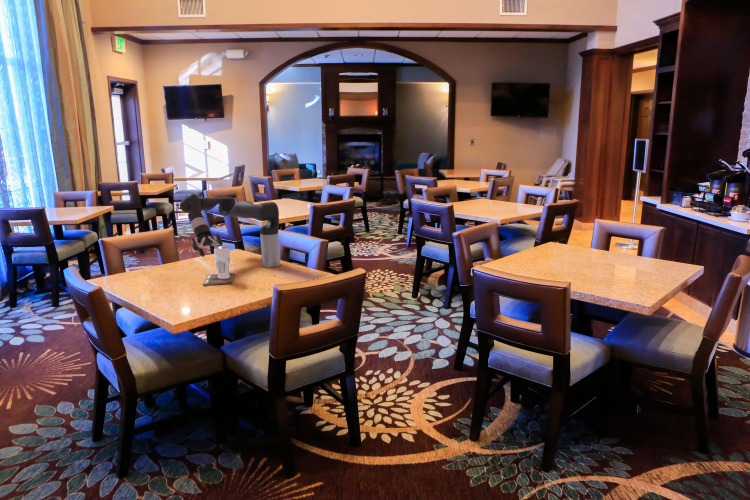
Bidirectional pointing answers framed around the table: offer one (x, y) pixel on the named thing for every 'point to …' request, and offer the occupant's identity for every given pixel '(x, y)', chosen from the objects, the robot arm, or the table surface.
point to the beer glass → (222, 261)
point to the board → (217, 280)
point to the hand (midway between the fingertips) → (212, 254)
